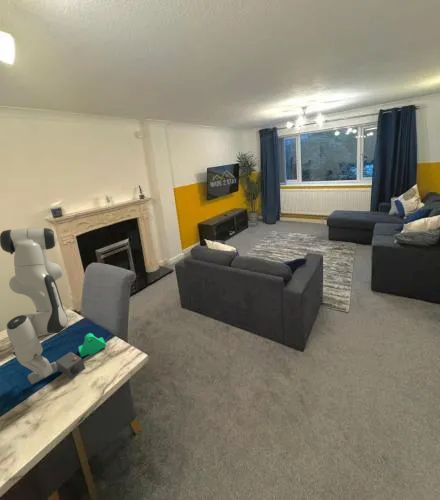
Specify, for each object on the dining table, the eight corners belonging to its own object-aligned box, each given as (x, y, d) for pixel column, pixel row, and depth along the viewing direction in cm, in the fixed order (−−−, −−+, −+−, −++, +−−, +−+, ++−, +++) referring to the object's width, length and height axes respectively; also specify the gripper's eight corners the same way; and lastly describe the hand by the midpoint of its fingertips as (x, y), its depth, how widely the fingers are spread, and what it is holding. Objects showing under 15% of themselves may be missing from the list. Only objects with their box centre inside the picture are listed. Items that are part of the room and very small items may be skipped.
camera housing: (59, 371, 123) (55, 360, 121) (74, 361, 128) (70, 350, 126) (72, 380, 117) (67, 368, 115) (86, 369, 123) (82, 358, 120)
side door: (57, 368, 123) (54, 360, 122) (58, 370, 122) (55, 362, 121) (30, 383, 116) (26, 374, 115) (30, 384, 115) (27, 376, 114)
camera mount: (103, 340, 142) (98, 324, 138) (106, 348, 136) (101, 331, 132) (79, 350, 136) (74, 334, 132) (81, 359, 130) (76, 342, 126)
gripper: (51, 353, 109) (60, 378, 113) (25, 341, 118) (35, 364, 123) (35, 364, 103) (46, 390, 108) (9, 350, 113) (20, 374, 118)
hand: (40, 376), depth 116 cm, fingers closed
